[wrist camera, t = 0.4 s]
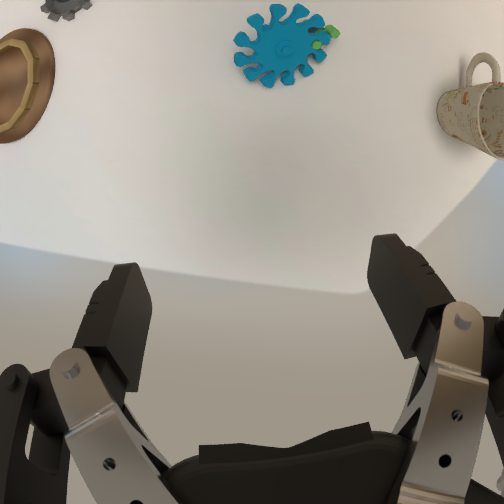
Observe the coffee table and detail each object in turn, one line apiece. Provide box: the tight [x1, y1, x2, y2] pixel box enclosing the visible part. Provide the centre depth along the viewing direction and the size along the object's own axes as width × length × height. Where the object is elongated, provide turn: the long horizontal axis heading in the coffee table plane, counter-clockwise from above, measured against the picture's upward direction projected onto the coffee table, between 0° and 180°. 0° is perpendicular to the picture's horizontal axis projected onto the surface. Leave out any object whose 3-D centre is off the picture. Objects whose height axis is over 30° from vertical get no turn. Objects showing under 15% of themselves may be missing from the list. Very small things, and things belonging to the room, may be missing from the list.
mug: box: [437, 53, 504, 160], centre depth 24 cm, size 8×13×10 cm, turn 177°
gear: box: [233, 4, 340, 88], centre depth 26 cm, size 11×6×10 cm
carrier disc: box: [0, 28, 55, 144], centre depth 27 cm, size 17×17×3 cm
